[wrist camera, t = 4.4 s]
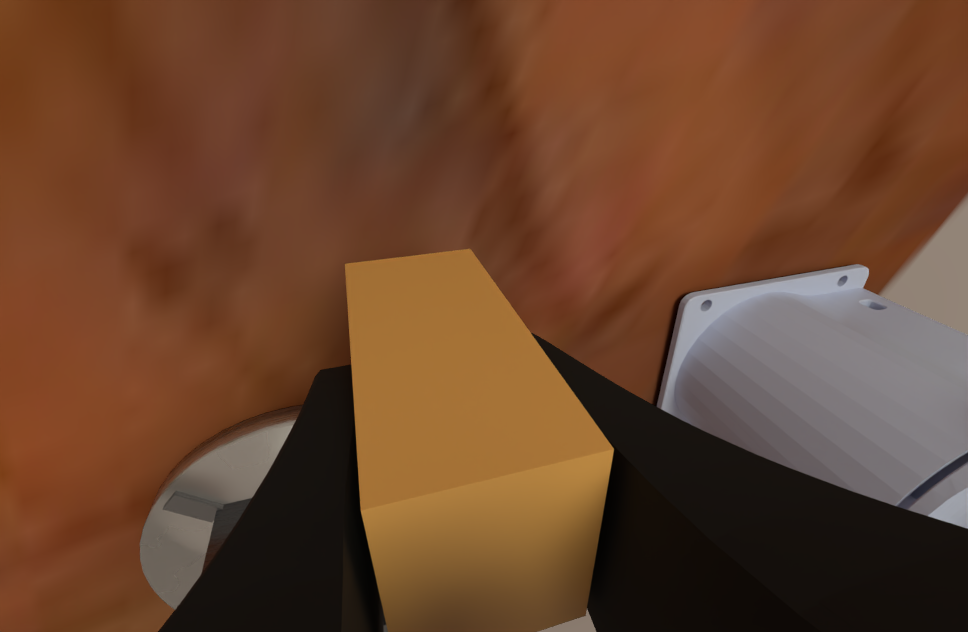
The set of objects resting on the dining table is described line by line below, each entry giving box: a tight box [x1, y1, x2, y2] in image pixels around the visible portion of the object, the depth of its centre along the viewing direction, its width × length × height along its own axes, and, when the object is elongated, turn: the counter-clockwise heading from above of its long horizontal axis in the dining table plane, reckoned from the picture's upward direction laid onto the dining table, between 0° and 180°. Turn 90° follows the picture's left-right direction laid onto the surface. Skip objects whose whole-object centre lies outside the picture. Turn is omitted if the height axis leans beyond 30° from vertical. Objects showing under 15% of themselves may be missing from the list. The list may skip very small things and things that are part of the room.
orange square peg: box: [345, 249, 614, 632], centre depth 8 cm, size 3×3×6 cm
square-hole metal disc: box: [140, 405, 388, 632], centre depth 17 cm, size 12×12×4 cm
